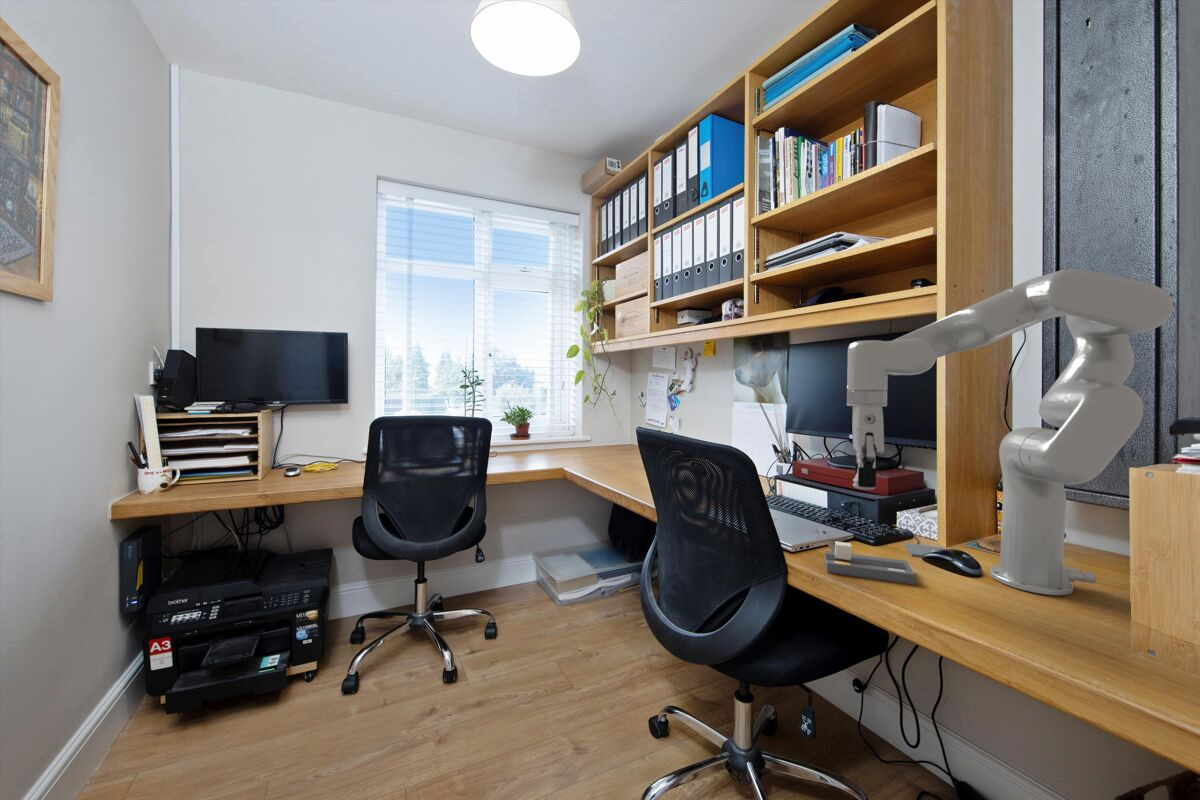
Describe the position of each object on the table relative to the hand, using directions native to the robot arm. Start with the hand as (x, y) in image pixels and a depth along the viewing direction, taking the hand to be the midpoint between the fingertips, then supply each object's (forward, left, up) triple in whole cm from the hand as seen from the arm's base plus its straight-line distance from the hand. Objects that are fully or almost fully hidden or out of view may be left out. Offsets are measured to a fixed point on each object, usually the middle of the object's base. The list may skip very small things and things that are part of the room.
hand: (865, 483), depth 103 cm
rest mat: (-16, -18, -19) cm, 31 cm away
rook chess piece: (0, 0, -1) cm, 1 cm away
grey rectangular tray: (-1, 0, -19) cm, 19 cm away
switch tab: (+4, 0, -17) cm, 17 cm away
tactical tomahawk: (+5, -17, -20) cm, 26 cm away
